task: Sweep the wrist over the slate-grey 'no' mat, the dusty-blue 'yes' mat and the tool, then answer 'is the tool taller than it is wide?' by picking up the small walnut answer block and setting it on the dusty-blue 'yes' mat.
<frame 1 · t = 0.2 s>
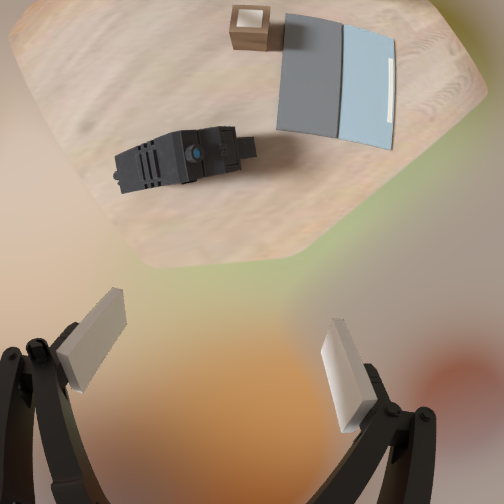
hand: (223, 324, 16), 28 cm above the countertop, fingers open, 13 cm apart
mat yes: (368, 83, 33), on the countertop
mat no: (311, 70, 33), on the countertop
answer block: (251, 37, 32), on the countertop
tool: (187, 159, 39), on the countertop
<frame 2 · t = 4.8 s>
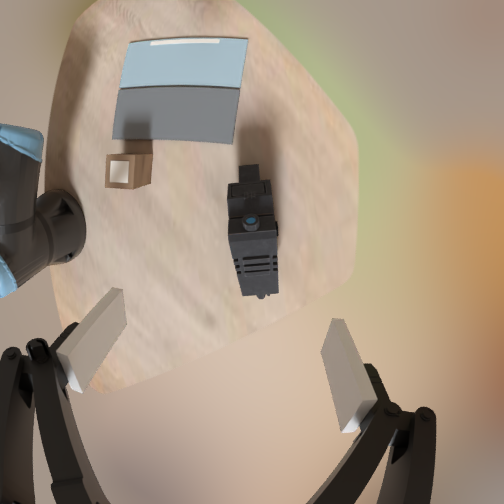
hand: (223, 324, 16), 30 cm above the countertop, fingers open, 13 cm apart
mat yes: (180, 61, 35), on the countertop
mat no: (171, 113, 38), on the countertop
answer block: (138, 168, 41), on the countertop
tool: (256, 227, 45), on the countertop
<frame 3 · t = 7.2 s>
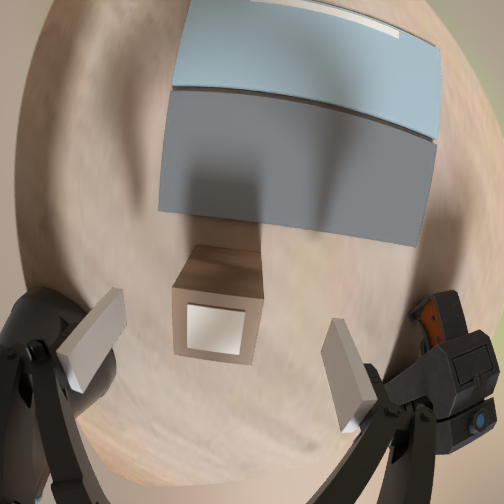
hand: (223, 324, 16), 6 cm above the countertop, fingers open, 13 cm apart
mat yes: (324, 50, 15), on the countertop
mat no: (309, 166, 19), on the countertop
answer block: (225, 277, 22), on the countertop
tool: (406, 357, 26), on the countertop
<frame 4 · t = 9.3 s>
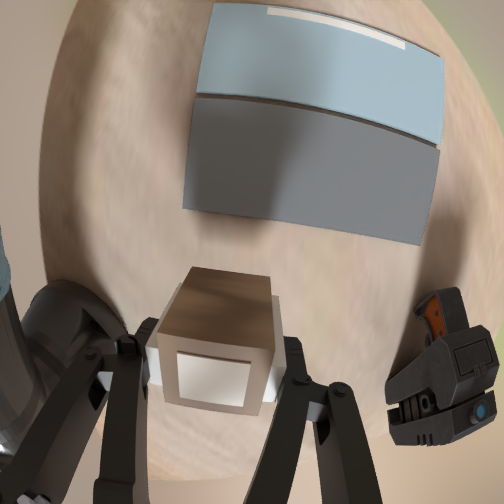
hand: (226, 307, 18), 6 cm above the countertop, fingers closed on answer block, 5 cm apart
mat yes: (335, 61, 17), on the countertop
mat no: (321, 170, 20), on the countertop
answer block: (227, 305, 18), point 6 cm above the countertop, touching gripper
tool: (411, 352, 26), on the countertop
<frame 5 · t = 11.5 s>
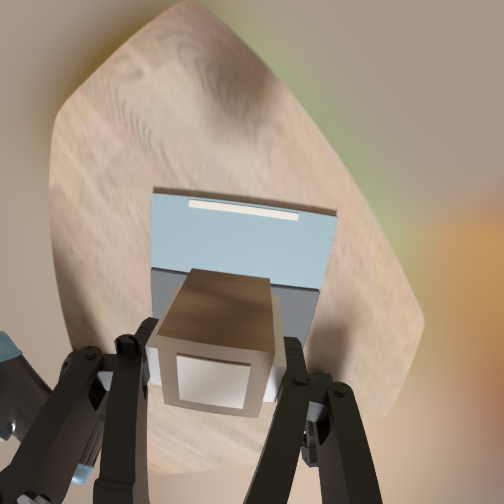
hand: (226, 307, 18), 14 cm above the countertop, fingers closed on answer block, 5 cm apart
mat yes: (239, 241, 31), on the countertop
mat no: (231, 311, 34), on the countertop
answer block: (227, 306, 18), point 14 cm above the countertop, touching gripper
tool: (314, 400, 41), on the countertop
when the fingers open (1 cm above the countertop, at t = 13.7 s): answer block stays where it is, resting on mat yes.
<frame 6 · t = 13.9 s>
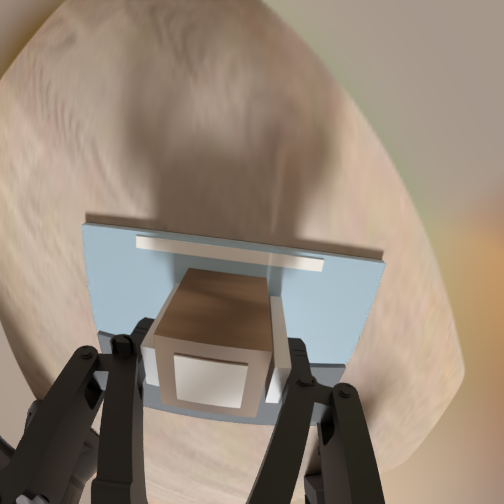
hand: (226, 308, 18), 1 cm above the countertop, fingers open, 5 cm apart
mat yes: (223, 301, 18), on the countertop
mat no: (215, 389, 22), on the countertop
answer block: (224, 306, 18), point 1 cm above the countertop, touching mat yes
tool: (323, 463, 29), on the countertop
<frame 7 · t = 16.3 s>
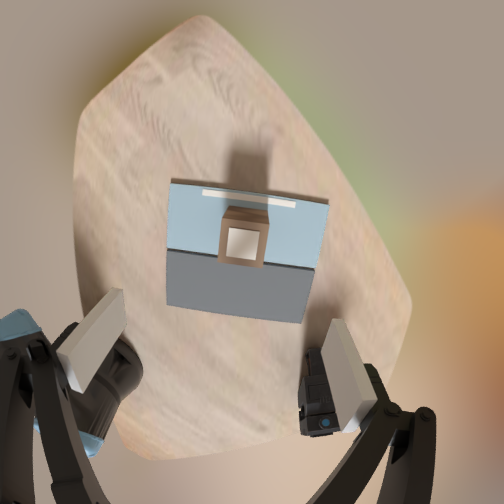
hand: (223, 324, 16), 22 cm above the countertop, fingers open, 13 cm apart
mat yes: (245, 225, 36), on the countertop
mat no: (236, 288, 39), on the countertop
answer block: (245, 226, 35), point 1 cm above the countertop, touching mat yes
tool: (312, 377, 46), on the countertop
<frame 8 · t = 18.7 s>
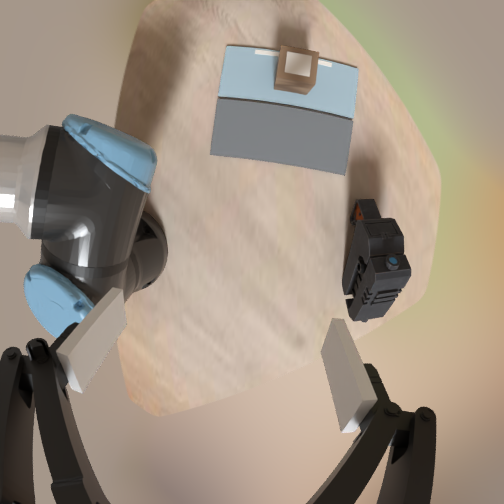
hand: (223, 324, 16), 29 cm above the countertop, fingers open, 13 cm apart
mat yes: (290, 78, 35), on the countertop
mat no: (283, 134, 38), on the countertop
answer block: (292, 77, 34), point 1 cm above the countertop, touching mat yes
tool: (356, 255, 45), on the countertop
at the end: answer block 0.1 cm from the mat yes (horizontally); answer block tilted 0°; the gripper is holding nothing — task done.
